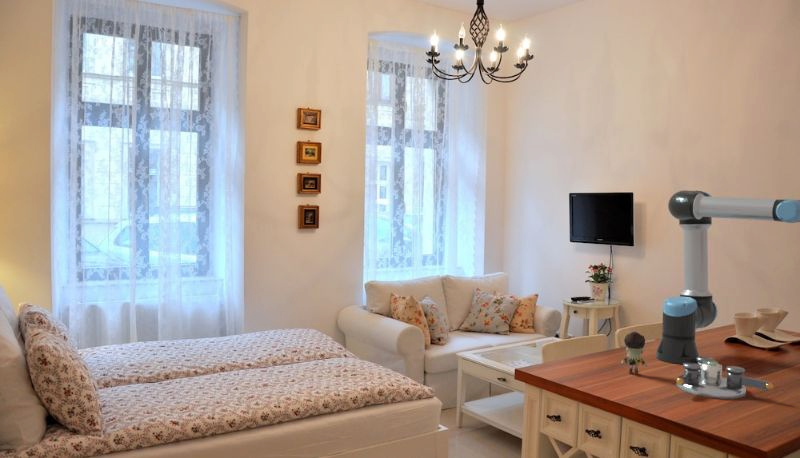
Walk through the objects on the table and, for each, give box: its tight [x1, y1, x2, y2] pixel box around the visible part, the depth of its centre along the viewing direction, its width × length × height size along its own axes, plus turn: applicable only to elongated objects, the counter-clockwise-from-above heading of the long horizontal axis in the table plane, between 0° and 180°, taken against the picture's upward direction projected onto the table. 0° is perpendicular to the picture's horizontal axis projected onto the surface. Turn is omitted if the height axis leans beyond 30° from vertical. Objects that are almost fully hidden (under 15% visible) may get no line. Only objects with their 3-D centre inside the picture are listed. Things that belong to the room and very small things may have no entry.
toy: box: [620, 331, 648, 375], centre depth 219 cm, size 9×7×15 cm
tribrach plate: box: [676, 361, 747, 400], centre depth 203 cm, size 20×20×9 cm
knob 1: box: [676, 362, 701, 386], centre depth 199 cm, size 13×5×6 cm, turn 136°
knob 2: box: [696, 355, 719, 377], centre depth 213 cm, size 13×5×6 cm, turn 136°
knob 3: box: [725, 365, 774, 391], centre depth 195 cm, size 13×5×6 cm, turn 46°
